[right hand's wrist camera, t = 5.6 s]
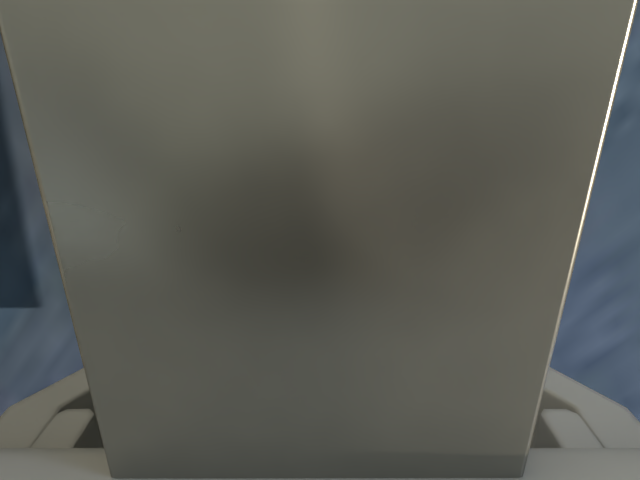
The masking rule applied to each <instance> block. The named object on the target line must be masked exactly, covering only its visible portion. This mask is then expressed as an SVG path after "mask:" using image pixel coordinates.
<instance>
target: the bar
mask: <svg viewBox="0 0 640 480" xmlns="http://www.w3.org/2000/svg"><path fill="white" fill-rule="evenodd" d="M637 4H638V0H0V32H1V36H2V40H3V44H4V48H5V52H6V56H7V60H8V64H9V68H10V72H11V76H12V80H13V84H14V88H15V92H16V96H17V101H18V105H19V109H20V113H21V117H22V121H23V125H24V129H25V133H26V137H27V141H28V145H29V149H30V153H31V157H32V161H33V165H34V169H35V173H36V177H37V181H38V185H39V189H40V193H41V197H42V201H43V205H44V209H45V213H46V217H47V221H48V225H49V229H50V233H51V237H52V241H53V245H54V249H55V253H56V257H57V261H58V265H59V269H60V273H61V277H62V281H63V286H64V290H65V294H66V298H67V302H68V306H69V310H70V314H71V318H72V322H73V326H74V330H75V334H76V338H77V342H78V346H79V350H80V354H81V358H82V362H83V366H84V370H85V374H86V378H87V382H88V386H89V390H90V394H91V398H92V402H93V406H94V410H95V414H96V418H97V422H98V426H99V430H100V434H101V438H102V442H103V446H104V450H105V454H106V458H107V462H108V466H109V471H110V475H111V477H112V478H115V479H287V478H521V477H523V474H524V470H525V466H526V462H527V457H528V453H529V449H530V445H531V441H532V437H533V433H534V429H535V424H536V420H537V416H538V412H539V408H540V404H541V400H542V396H543V391H544V387H545V383H546V379H547V375H548V371H549V367H550V363H551V358H552V354H553V350H554V346H555V342H556V338H557V334H558V330H559V325H560V321H561V317H562V313H563V309H564V305H565V301H566V297H567V292H568V288H569V284H570V280H571V276H572V272H573V268H574V264H575V259H576V255H577V251H578V247H579V243H580V239H581V235H582V231H583V226H584V222H585V218H586V214H587V210H588V206H589V202H590V198H591V193H592V189H593V185H594V181H595V177H596V173H597V169H598V165H599V160H600V156H601V152H602V148H603V144H604V140H605V136H606V132H607V127H608V123H609V119H610V115H611V111H612V107H613V103H614V99H615V95H616V90H617V86H618V82H619V78H620V74H621V70H622V66H623V62H624V57H625V53H626V49H627V45H628V41H629V37H630V33H631V29H632V24H633V20H634V16H635V12H636V8H637Z"/></svg>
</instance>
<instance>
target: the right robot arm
mask: <svg viewBox="0 0 640 480" xmlns="http://www.w3.org/2000/svg"><path fill="white" fill-rule="evenodd" d="M0 480H640V422H639V421H638V420H637V419H636V418H635V417H634V416H633V414H632V413H631V412H630V411H629V410H628V409H627V408H626V407H624V406H622V405H620V404H618V403H617V402H615V401H613V400H611V399H609V398H607V397H605V396H603V395H601V394H600V393H598V392H596V391H594V390H592V389H590V388H588V387H586V386H585V385H583V384H581V383H579V382H577V381H575V380H573V379H571V378H569V377H568V376H566V375H564V374H562V373H560V372H558V371H556V370H554V369H552V368H551V367H549V371H548V375H547V379H546V383H545V387H544V391H543V396H542V400H541V404H540V408H539V412H538V416H537V420H536V424H535V429H534V433H533V437H532V441H531V445H530V449H529V453H528V457H527V462H526V466H525V470H524V474H523V477H521V478H287V479H115V478H112V477H111V475H110V471H109V466H108V462H107V458H106V454H105V450H104V446H103V442H102V438H101V434H100V430H99V426H98V422H97V418H96V414H95V410H94V406H93V402H92V398H91V394H90V390H89V386H88V382H87V378H86V374H85V370H84V368H83V369H81V370H79V371H77V372H75V373H73V374H71V375H69V376H68V377H66V378H64V379H62V380H60V381H58V382H56V383H54V384H52V385H50V386H48V387H46V388H45V389H43V390H41V391H39V392H37V393H35V394H33V395H31V396H29V397H27V398H25V399H24V400H22V401H20V402H18V403H16V404H14V405H12V406H10V407H9V408H8V409H7V410H6V411H5V412H4V413H3V414H2V415H1V416H0Z"/></svg>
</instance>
